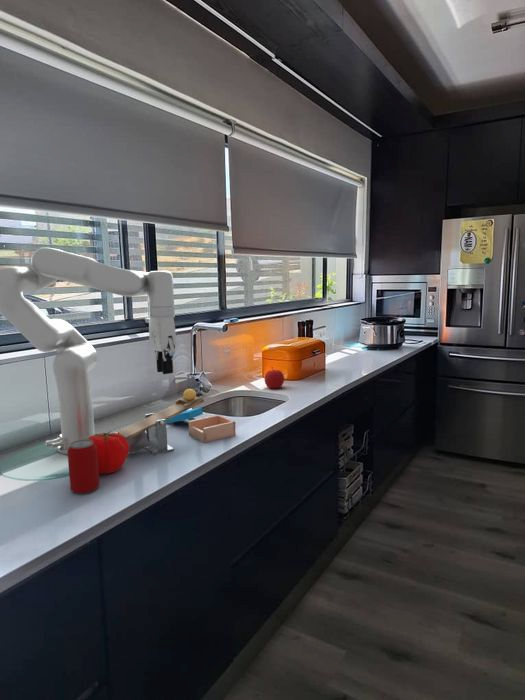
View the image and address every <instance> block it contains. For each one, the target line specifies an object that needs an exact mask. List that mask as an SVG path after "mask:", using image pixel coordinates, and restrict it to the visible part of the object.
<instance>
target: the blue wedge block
mask: <svg viewBox="0 0 525 700" xmlns="http://www.w3.org/2000/svg"><path fill="white" fill-rule="evenodd" d="M202 415H204V412H203V408H202V407H197V408H191V409H188V410H186V411H184V412H182V413H180V414H178V415H176V416H174V417H172V418H170V419H168V420H166V424H171V423H176V422H181V421H187V420H188V421H191V420H196V419H197V418H196V417H199V416H202Z"/></svg>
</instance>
